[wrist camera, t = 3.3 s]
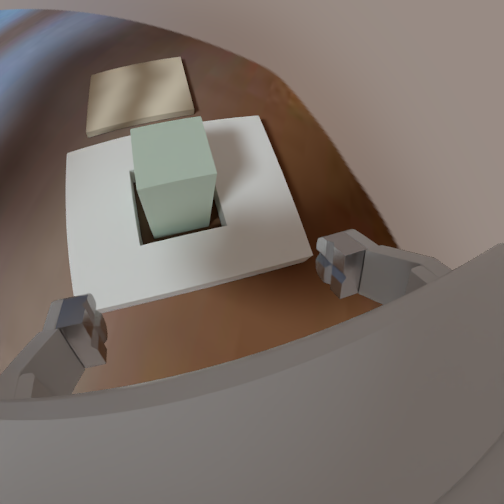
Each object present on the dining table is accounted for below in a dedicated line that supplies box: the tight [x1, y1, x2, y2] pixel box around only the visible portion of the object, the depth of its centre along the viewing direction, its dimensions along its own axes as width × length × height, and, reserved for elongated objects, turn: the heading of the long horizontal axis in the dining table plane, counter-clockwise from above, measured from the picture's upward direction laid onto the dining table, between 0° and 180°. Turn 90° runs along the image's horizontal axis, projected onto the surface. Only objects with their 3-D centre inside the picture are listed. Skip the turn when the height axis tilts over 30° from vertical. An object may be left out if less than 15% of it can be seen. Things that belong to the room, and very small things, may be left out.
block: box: [130, 116, 217, 239], centre depth 19 cm, size 4×4×8 cm
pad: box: [86, 57, 194, 138], centre depth 25 cm, size 11×10×1 cm
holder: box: [66, 116, 313, 313], centre depth 22 cm, size 18×14×2 cm
